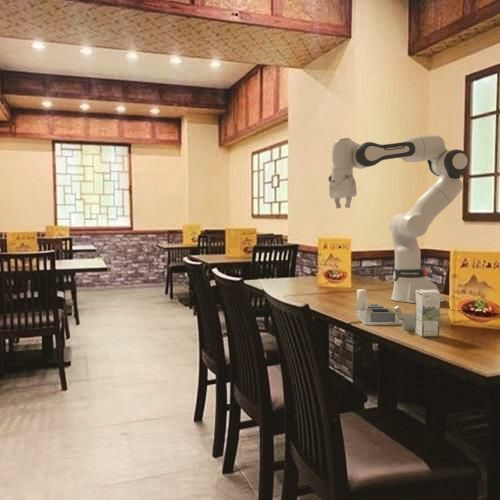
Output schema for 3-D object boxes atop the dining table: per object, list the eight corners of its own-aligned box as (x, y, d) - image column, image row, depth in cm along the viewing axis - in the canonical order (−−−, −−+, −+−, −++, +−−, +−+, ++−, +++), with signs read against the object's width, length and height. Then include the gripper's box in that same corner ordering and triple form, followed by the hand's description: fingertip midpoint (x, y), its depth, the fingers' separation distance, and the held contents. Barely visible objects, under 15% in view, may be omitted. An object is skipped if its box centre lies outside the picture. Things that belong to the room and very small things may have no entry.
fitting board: (388, 312, 193) (388, 302, 193) (402, 324, 171) (402, 313, 171) (354, 312, 194) (354, 302, 194) (364, 325, 172) (364, 313, 172)
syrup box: (432, 332, 159) (432, 288, 158) (440, 337, 153) (440, 291, 152) (414, 333, 159) (415, 288, 158) (421, 337, 153) (422, 291, 152)
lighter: (414, 328, 165) (414, 305, 165) (416, 329, 164) (416, 306, 163) (393, 329, 165) (393, 305, 164) (395, 330, 163) (395, 306, 163)
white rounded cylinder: (366, 308, 202) (366, 289, 202) (367, 310, 198) (367, 290, 198) (356, 308, 203) (356, 289, 202) (357, 310, 199) (357, 290, 198)
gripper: (360, 174, 205) (360, 207, 206) (339, 178, 225) (339, 208, 226) (346, 174, 203) (346, 207, 204) (326, 178, 223) (327, 208, 224)
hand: (342, 208), depth 215 cm, fingers open, 8 cm apart
